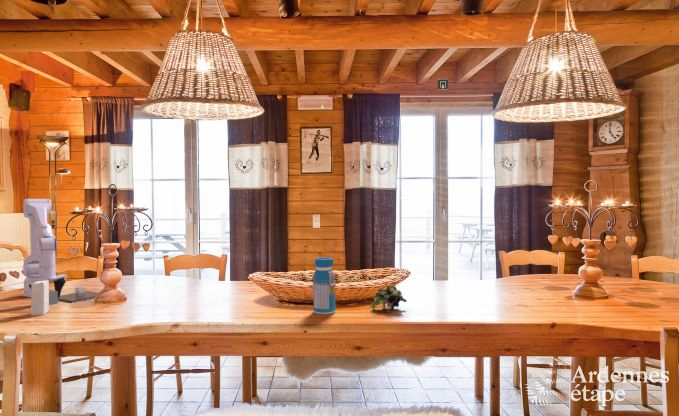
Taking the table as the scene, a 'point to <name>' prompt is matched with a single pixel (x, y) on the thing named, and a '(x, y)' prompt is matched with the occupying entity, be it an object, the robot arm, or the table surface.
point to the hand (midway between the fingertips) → (47, 299)
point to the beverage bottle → (324, 286)
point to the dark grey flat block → (78, 295)
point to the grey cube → (53, 297)
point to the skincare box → (39, 298)
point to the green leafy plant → (388, 297)
